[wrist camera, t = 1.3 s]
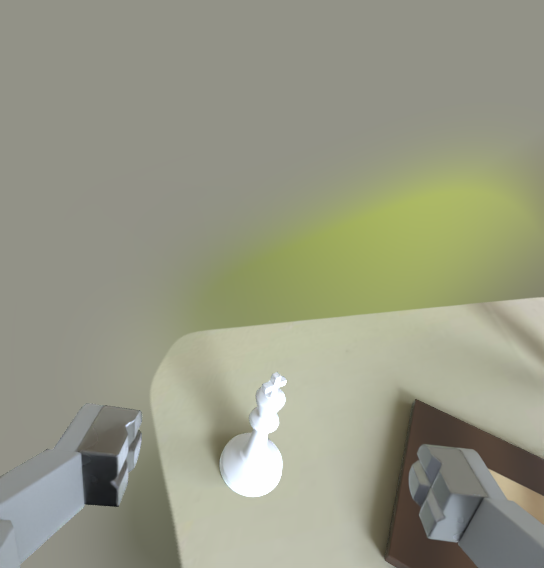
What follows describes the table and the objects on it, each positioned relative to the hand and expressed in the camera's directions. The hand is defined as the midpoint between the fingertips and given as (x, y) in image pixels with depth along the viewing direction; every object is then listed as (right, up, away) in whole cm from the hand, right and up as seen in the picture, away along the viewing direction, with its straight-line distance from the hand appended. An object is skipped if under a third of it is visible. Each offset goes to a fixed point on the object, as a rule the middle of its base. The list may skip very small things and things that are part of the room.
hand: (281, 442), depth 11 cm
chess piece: (-2, -10, +18) cm, 21 cm away
